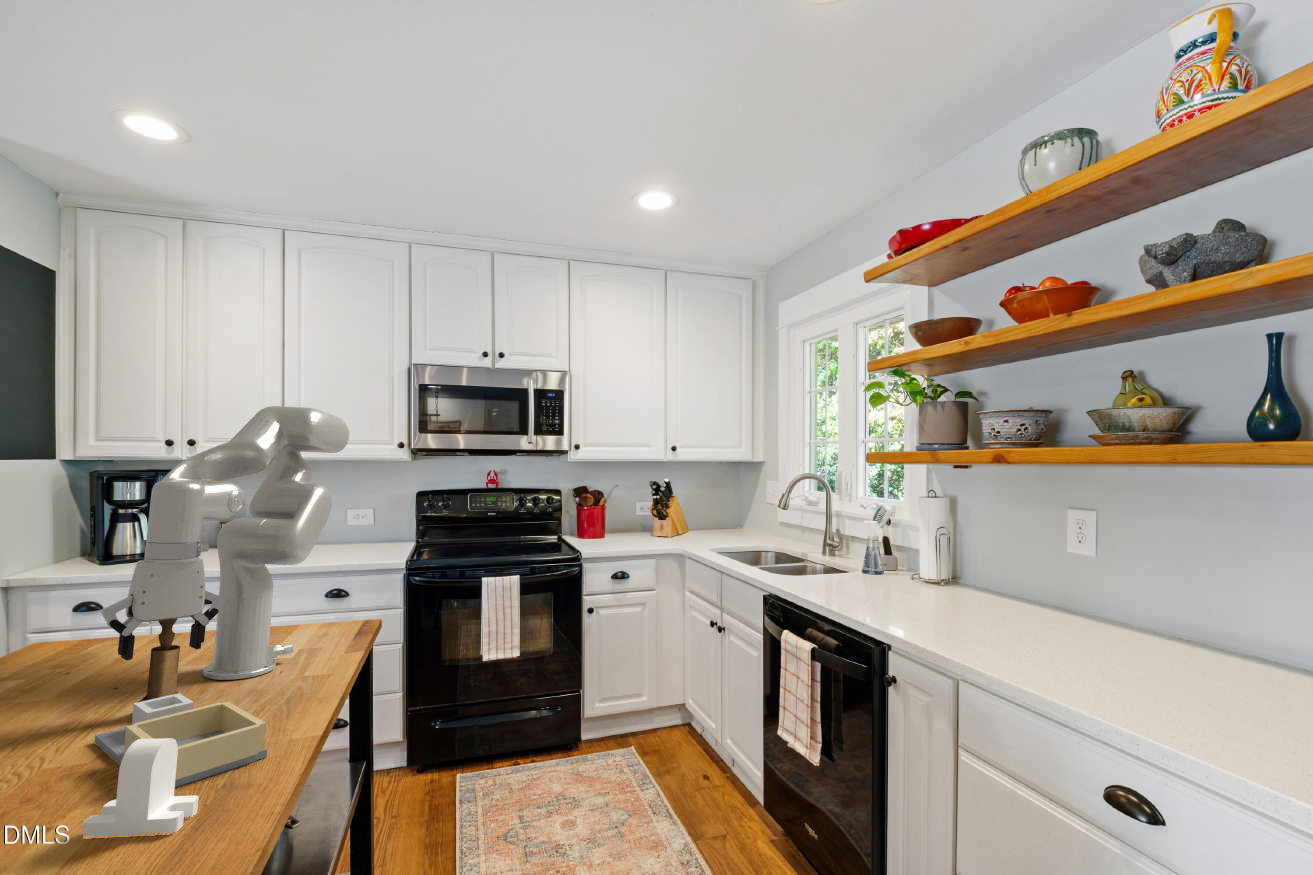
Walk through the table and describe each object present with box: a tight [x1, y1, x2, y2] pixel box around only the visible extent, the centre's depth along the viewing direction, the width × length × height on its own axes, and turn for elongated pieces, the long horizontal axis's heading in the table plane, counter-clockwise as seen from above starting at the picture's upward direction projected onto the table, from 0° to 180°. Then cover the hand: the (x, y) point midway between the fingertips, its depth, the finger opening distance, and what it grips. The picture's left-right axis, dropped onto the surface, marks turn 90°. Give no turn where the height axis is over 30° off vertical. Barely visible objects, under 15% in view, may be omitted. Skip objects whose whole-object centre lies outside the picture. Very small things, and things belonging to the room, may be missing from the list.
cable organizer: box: [81, 738, 199, 836], centre depth 76 cm, size 5×10×10 cm, turn 100°
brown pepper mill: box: [136, 618, 181, 703], centre depth 108 cm, size 7×6×18 cm
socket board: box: [94, 692, 268, 788], centre depth 94 cm, size 14×24×5 cm, turn 55°
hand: (161, 652), depth 107 cm, fingers open, 9 cm apart
